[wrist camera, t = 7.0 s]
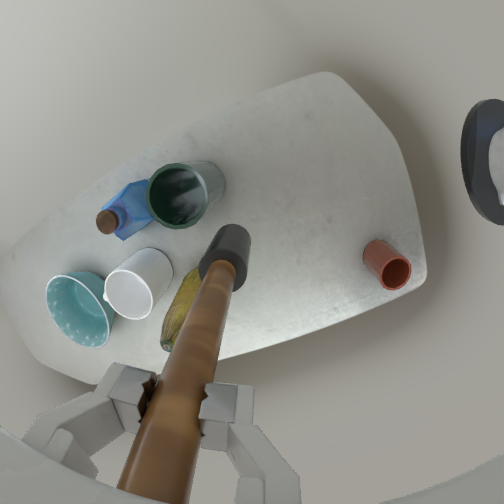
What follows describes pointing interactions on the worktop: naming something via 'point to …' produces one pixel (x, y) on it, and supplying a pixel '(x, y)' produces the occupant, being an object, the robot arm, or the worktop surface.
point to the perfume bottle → (125, 212)
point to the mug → (138, 283)
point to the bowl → (80, 308)
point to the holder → (387, 264)
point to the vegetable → (179, 309)
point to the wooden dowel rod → (187, 379)
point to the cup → (184, 192)
